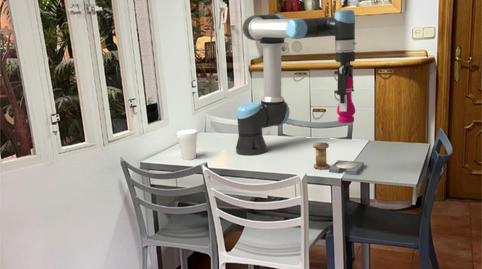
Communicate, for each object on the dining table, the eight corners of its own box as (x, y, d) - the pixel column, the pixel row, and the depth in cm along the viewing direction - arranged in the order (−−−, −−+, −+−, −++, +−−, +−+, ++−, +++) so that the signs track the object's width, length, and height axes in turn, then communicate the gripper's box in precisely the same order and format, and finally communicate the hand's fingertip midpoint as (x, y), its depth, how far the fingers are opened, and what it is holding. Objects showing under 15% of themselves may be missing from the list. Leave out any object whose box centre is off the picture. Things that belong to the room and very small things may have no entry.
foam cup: (175, 160, 220) (173, 133, 217) (185, 155, 228) (182, 129, 226) (193, 161, 216) (191, 134, 214) (202, 155, 225) (200, 129, 222)
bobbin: (311, 169, 193) (310, 145, 191) (316, 164, 199) (315, 142, 196) (326, 170, 190) (325, 146, 188) (331, 166, 196) (330, 143, 193)
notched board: (328, 172, 187) (328, 168, 187) (338, 163, 198) (338, 159, 198) (355, 174, 182) (355, 170, 182) (363, 165, 193) (363, 161, 193)
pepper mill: (356, 119, 188) (355, 70, 184) (354, 123, 181) (354, 72, 177) (338, 119, 190) (337, 71, 186) (335, 123, 184) (334, 72, 179)
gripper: (347, 52, 170) (348, 114, 175) (361, 49, 187) (361, 105, 192) (327, 53, 173) (329, 113, 178) (342, 49, 190) (343, 105, 195)
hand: (345, 109), depth 185 cm, fingers closed on pepper mill, 7 cm apart
